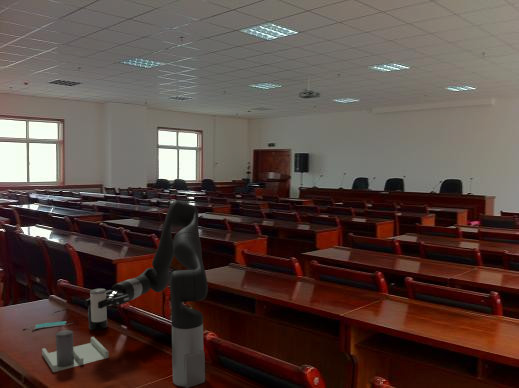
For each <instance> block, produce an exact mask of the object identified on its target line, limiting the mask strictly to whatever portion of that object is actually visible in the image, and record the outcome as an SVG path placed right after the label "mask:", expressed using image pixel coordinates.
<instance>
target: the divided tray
mask: <svg viewBox="0 0 519 388" xmlns="http://www.w3.org/2000/svg"><path fill="white" fill-rule="evenodd" d="M73 350H74V363H73V364H72V365H70V366H67V367H58V366H57V353H56V350H55V351H52V352H48V350H47V349H46V348H45V347H44V348H41V356H42V357H43V359H44V360H45V361H46V363H47V364H48V366H49V368H50V369H51V371H52V373H56V372H60V371H64V370H67V369H71V368H75V367H78V366H82V365H86V364H89V363H93V362H98V361H101V360H105V359H108V358H109V353H110V352H109V350H107V349H106V347H104V346H103V344H102V343H101V342H100V341H98V340H97V338H95V336H91V337H90V342H89V343H84V344H81V345H80V344H79V345H76V346H74V345H73Z"/></svg>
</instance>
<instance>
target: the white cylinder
mask: <svg viewBox="0 0 519 388" xmlns="http://www.w3.org/2000/svg"><path fill="white" fill-rule="evenodd" d="M106 291H107V289H105V288H95V289H91V290H90V291H89V295H90V297H89V299H90V301H91V321H92V322H102V321H105V320H106V319H107V320H108V315H107V313H108V312H107V306H106V307H103V308H101V309H100V308H98V302H100V301H102V300H105V299H106Z"/></svg>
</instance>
